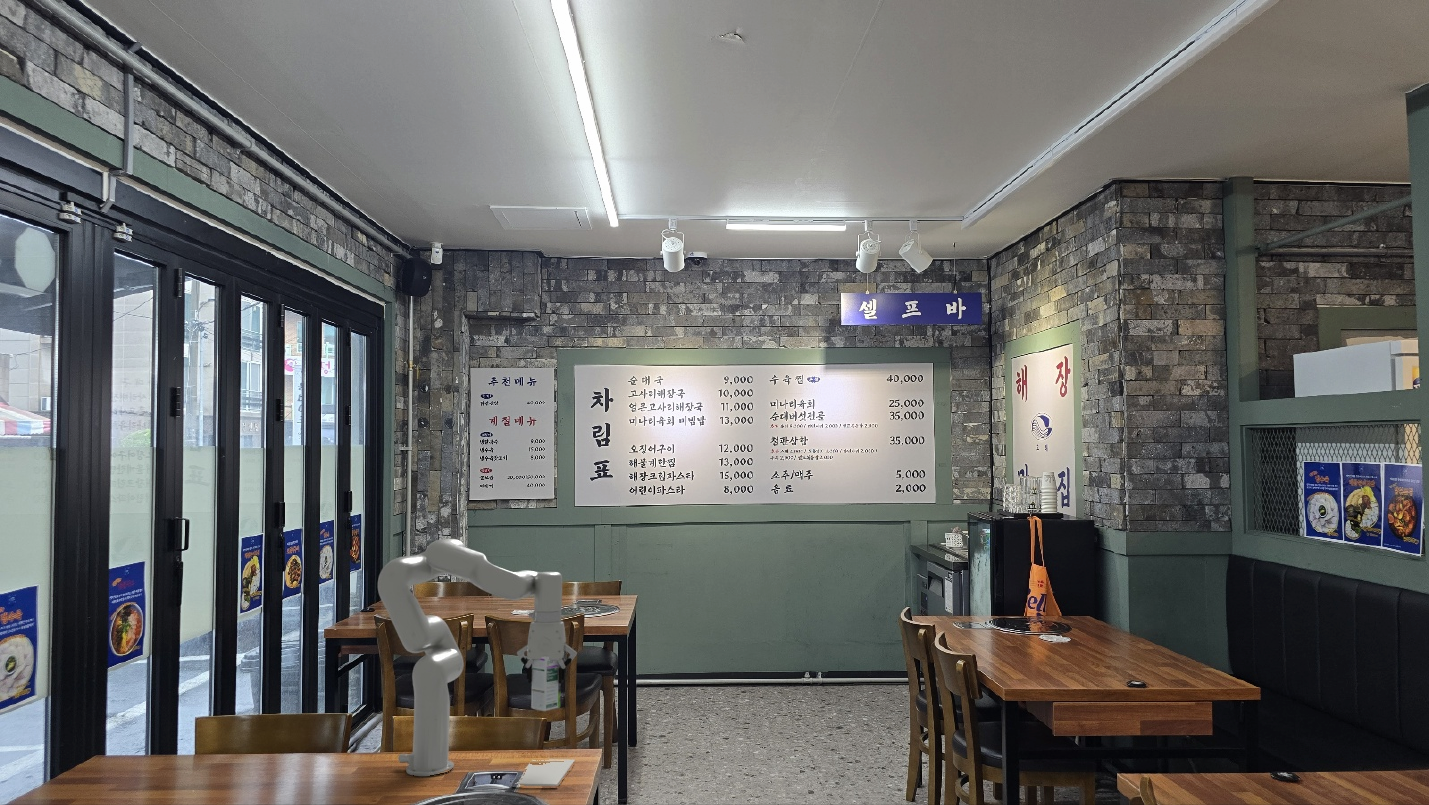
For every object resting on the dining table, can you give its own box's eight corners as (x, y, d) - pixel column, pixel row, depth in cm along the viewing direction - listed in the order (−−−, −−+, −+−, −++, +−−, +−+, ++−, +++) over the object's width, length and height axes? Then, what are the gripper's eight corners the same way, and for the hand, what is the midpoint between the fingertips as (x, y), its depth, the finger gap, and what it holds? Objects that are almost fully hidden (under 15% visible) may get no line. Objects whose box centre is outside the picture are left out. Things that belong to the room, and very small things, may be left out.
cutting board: (511, 788, 230) (511, 783, 230) (533, 763, 252) (533, 758, 252) (557, 789, 229) (557, 784, 229) (575, 764, 251) (575, 759, 251)
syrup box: (544, 711, 238) (546, 656, 240) (530, 708, 242) (531, 654, 244) (560, 707, 243) (562, 653, 245) (545, 704, 247) (547, 651, 248)
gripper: (513, 618, 242) (511, 684, 240) (575, 619, 241) (574, 685, 239) (520, 615, 249) (518, 679, 248) (581, 616, 248) (580, 680, 247)
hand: (546, 682), depth 243 cm, fingers closed on syrup box, 7 cm apart
